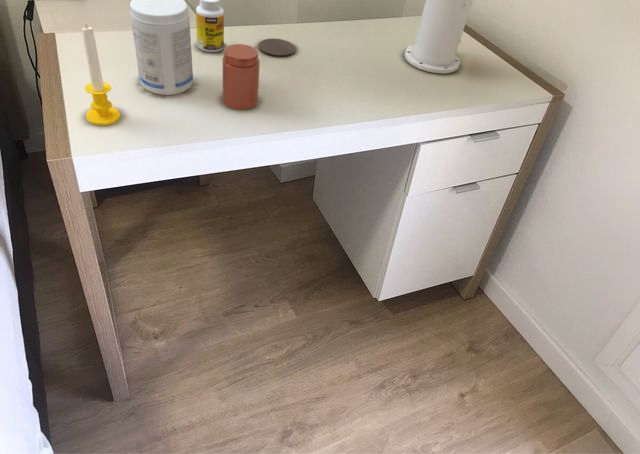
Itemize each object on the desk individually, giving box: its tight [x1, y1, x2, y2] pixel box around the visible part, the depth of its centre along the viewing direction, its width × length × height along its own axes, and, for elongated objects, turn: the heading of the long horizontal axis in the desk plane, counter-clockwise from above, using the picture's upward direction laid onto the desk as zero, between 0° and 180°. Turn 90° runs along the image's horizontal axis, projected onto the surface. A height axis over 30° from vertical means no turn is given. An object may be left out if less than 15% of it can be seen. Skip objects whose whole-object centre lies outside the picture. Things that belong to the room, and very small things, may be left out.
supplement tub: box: [129, 0, 194, 96], centre depth 90 cm, size 10×10×15 cm
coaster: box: [258, 38, 296, 58], centre depth 112 cm, size 8×8×1 cm
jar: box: [222, 43, 261, 111], centre depth 91 cm, size 6×6×10 cm
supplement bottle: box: [195, 0, 225, 53], centre depth 105 cm, size 6×6×10 cm
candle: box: [81, 24, 121, 126], centre depth 80 cm, size 5×5×16 cm
